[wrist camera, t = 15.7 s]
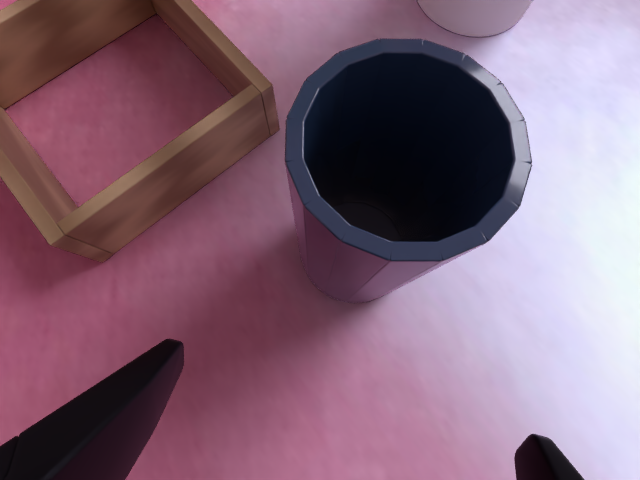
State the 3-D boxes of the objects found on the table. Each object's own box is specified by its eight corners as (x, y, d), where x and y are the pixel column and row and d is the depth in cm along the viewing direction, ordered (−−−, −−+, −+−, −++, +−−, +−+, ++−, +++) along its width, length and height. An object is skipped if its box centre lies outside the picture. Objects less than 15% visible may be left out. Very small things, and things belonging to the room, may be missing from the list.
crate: (102, 263, 22) (49, 245, 17) (-13, 108, 24) (-86, 58, 20) (280, 129, 24) (272, 84, 20) (159, 0, 26) (129, -65, 22)
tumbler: (325, 320, 21) (345, 302, 8) (285, 221, 22) (249, 80, 10) (424, 278, 22) (578, 204, 9) (379, 185, 23) (459, 10, 11)
